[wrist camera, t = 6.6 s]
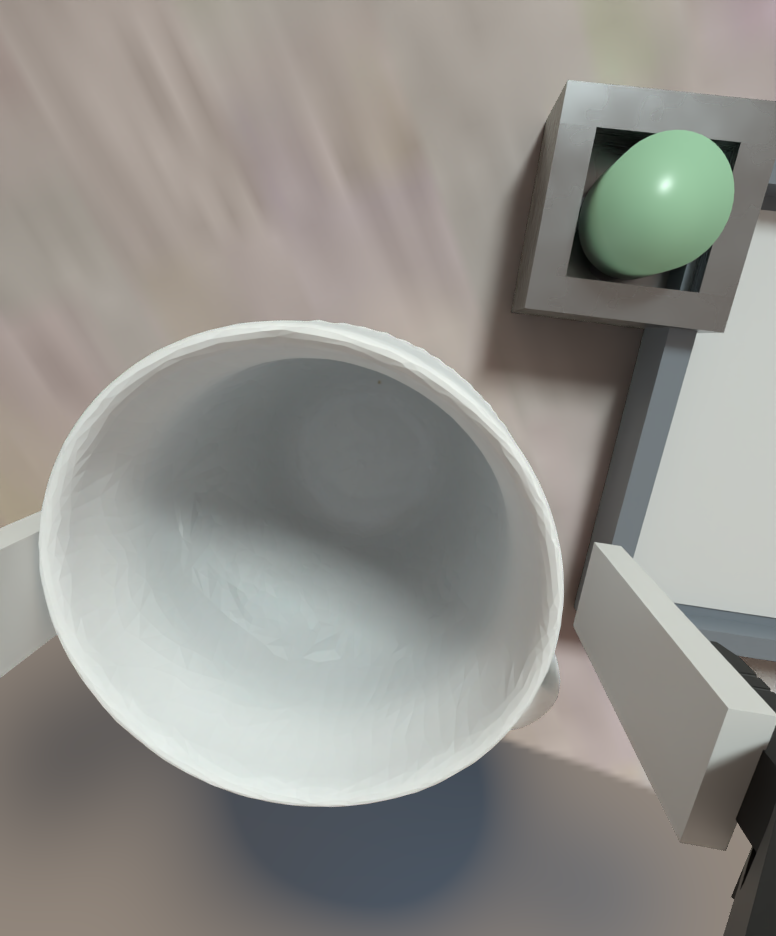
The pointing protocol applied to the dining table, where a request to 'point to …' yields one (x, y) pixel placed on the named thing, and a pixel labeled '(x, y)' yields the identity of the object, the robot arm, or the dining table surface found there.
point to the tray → (705, 460)
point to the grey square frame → (590, 155)
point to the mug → (303, 563)
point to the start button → (657, 206)
